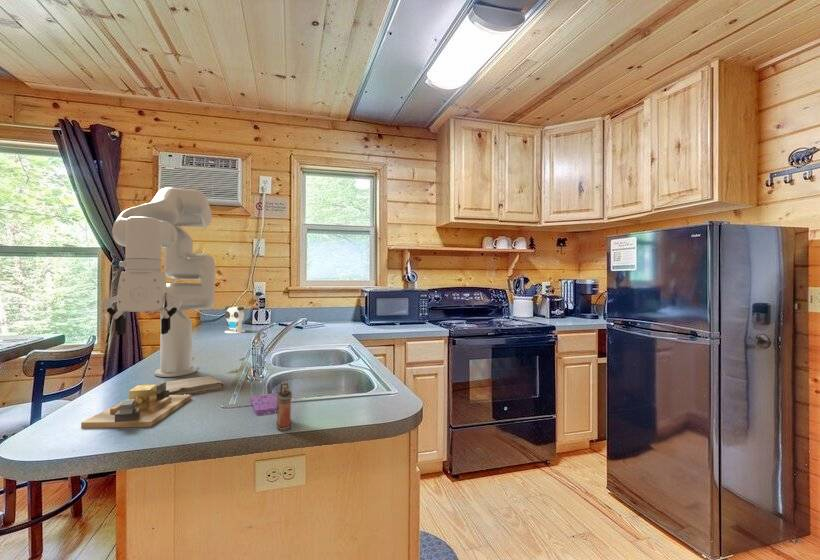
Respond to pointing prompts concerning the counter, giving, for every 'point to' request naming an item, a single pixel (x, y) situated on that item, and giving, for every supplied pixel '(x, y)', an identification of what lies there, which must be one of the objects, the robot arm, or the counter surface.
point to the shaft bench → (143, 418)
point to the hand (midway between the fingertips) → (143, 333)
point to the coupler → (144, 396)
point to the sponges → (264, 403)
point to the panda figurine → (234, 319)
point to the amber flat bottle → (283, 408)
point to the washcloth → (193, 385)
